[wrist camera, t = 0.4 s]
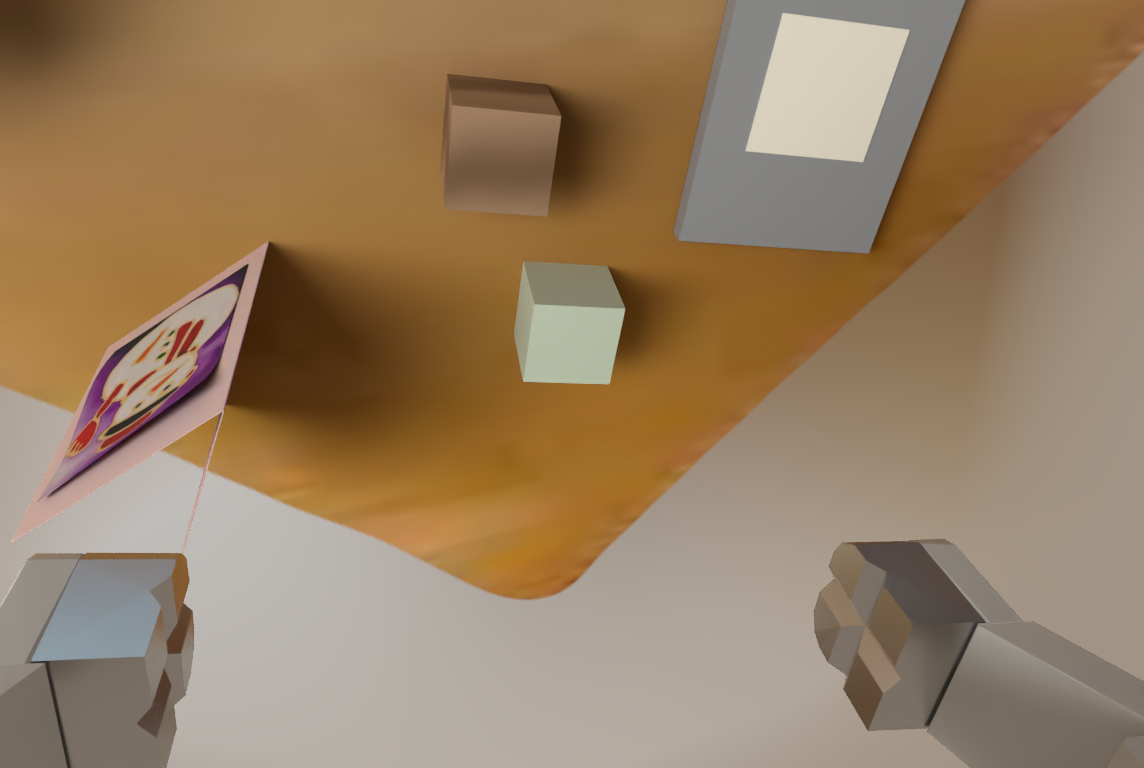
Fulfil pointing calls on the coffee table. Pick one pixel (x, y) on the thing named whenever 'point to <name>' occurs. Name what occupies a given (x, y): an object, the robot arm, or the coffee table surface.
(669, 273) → the coffee table surface
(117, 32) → the coffee table surface
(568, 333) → the sage green block
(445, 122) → the walnut block
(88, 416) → the greeting card
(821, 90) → the baseplate
